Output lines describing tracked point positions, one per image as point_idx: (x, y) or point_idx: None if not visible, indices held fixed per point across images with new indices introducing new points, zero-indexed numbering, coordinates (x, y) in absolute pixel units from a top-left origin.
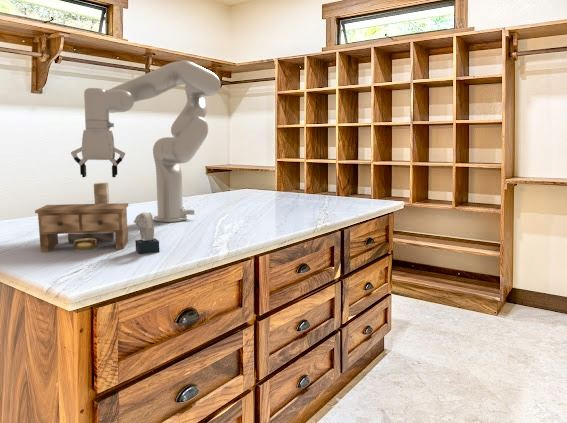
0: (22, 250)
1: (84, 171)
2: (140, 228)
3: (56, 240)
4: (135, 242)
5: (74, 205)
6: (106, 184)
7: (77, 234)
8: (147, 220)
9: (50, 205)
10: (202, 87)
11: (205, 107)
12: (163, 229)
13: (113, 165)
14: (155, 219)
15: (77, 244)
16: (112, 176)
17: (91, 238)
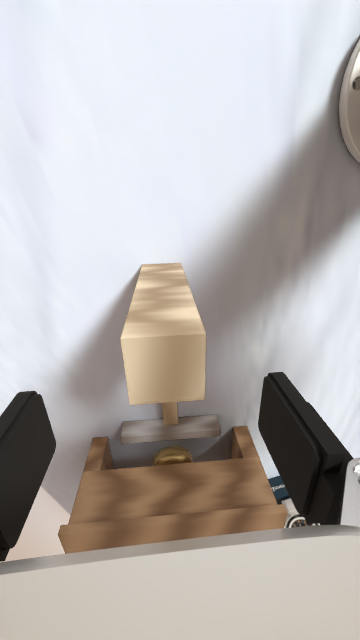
0: (62, 473)
1: (36, 481)
2: (288, 515)
3: (107, 454)
4: None
5: (144, 540)
6: (204, 386)
7: (142, 441)
8: None
9: (75, 542)
10: None
11: None
12: (339, 304)
13: (319, 508)
14: (345, 134)
15: None
16: (261, 429)
17: (181, 463)
